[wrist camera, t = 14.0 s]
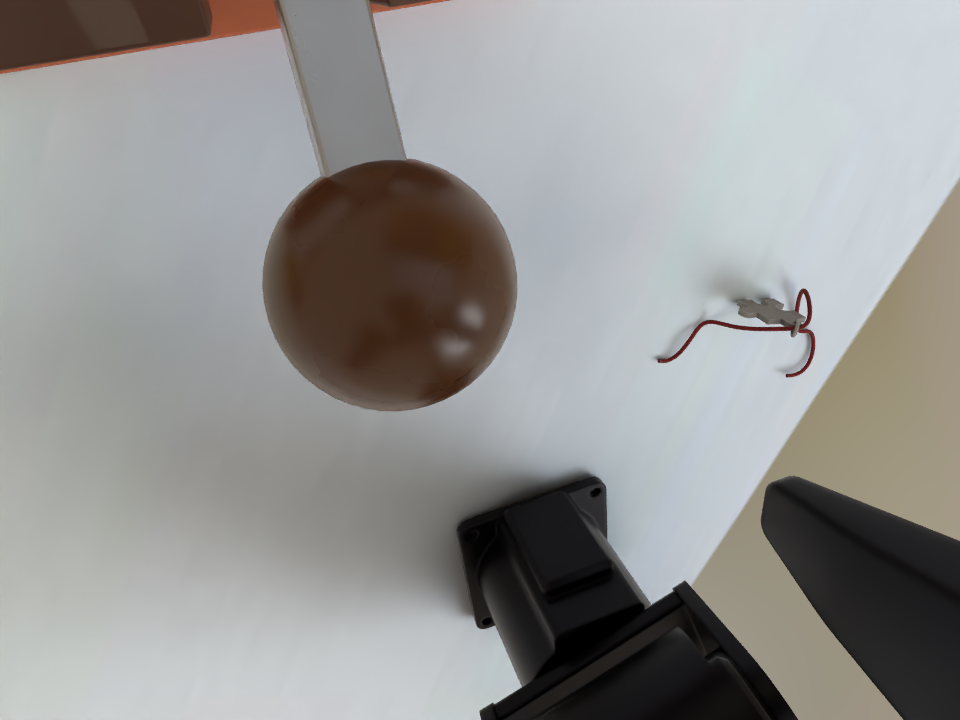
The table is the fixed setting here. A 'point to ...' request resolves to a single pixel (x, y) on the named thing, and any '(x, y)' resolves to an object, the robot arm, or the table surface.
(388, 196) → the lever
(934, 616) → the robot arm
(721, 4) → the table surface
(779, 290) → the table surface
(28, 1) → the brown block
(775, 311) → the pendant
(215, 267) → the table surface
